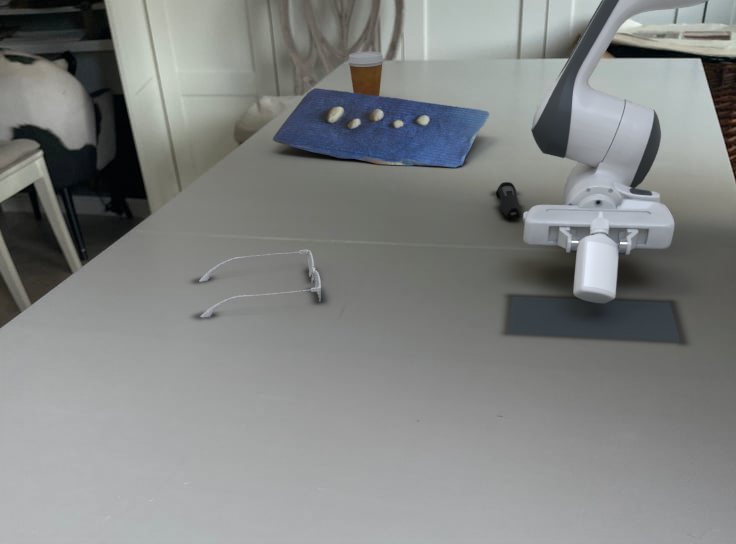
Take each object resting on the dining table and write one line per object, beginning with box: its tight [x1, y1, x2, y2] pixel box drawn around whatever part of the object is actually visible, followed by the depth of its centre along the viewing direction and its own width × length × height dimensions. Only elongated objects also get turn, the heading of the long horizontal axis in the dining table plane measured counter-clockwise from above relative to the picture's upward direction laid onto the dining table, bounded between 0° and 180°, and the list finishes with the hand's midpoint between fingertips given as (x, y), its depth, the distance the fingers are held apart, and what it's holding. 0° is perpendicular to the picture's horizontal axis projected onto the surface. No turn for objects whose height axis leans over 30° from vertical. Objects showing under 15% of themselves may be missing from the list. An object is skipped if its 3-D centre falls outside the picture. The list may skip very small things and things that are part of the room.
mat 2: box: [508, 296, 681, 343], centre depth 111 cm, size 22×12×1 cm, turn 79°
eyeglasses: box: [198, 249, 322, 318], centre depth 122 cm, size 15×18×4 cm
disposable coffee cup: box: [347, 51, 385, 96], centre depth 214 cm, size 10×10×12 cm
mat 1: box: [272, 87, 490, 168], centre depth 185 cm, size 45×27×12 cm, turn 69°
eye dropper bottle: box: [572, 211, 620, 303], centre depth 109 cm, size 4×6×12 cm
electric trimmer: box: [495, 181, 521, 219], centre depth 148 cm, size 4×16×3 cm, turn 176°
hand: (598, 248), depth 108 cm, fingers closed on eye dropper bottle, 5 cm apart
